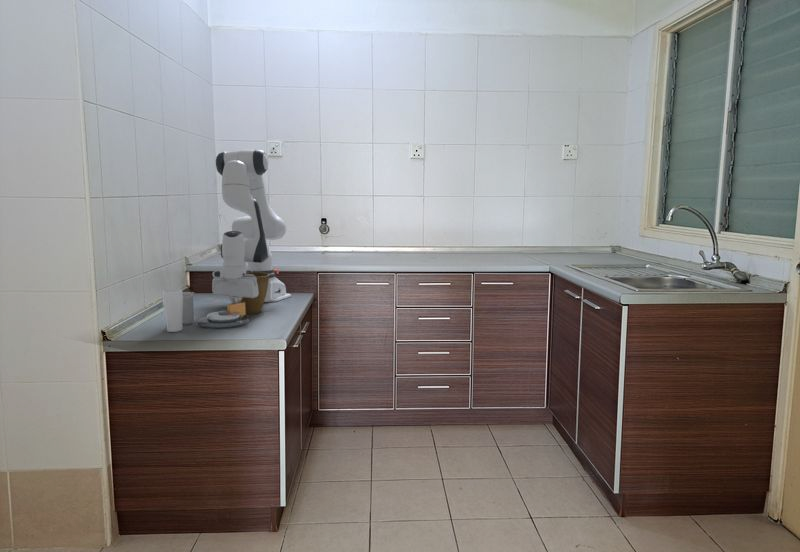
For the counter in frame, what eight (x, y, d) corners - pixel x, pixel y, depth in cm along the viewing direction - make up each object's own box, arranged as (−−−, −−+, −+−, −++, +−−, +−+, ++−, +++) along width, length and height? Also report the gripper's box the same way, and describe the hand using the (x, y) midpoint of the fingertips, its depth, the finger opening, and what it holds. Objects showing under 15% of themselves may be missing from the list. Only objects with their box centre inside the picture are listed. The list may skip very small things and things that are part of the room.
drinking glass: (173, 333, 207) (171, 292, 205) (160, 331, 211) (158, 290, 209) (188, 330, 213) (186, 289, 211) (175, 327, 216) (173, 288, 214)
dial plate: (224, 315, 237) (224, 312, 237) (259, 320, 228) (259, 317, 228) (186, 325, 221) (186, 321, 221) (223, 330, 212) (223, 326, 212)
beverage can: (196, 321, 227) (195, 291, 225) (190, 325, 220) (188, 294, 218) (180, 321, 227) (178, 291, 225) (173, 325, 220) (171, 294, 219)
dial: (219, 324, 216) (218, 310, 215) (200, 319, 224) (200, 306, 223) (253, 317, 228) (253, 303, 227) (235, 313, 235) (234, 300, 235)
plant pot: (251, 317, 235) (250, 278, 233) (226, 313, 243) (224, 275, 241) (277, 311, 247) (276, 273, 245) (253, 307, 255) (251, 271, 253)
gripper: (261, 273, 228) (262, 307, 230) (219, 270, 236) (221, 304, 238) (251, 275, 222) (252, 310, 224) (208, 272, 231) (210, 306, 233)
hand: (236, 307), depth 231 cm, fingers closed
